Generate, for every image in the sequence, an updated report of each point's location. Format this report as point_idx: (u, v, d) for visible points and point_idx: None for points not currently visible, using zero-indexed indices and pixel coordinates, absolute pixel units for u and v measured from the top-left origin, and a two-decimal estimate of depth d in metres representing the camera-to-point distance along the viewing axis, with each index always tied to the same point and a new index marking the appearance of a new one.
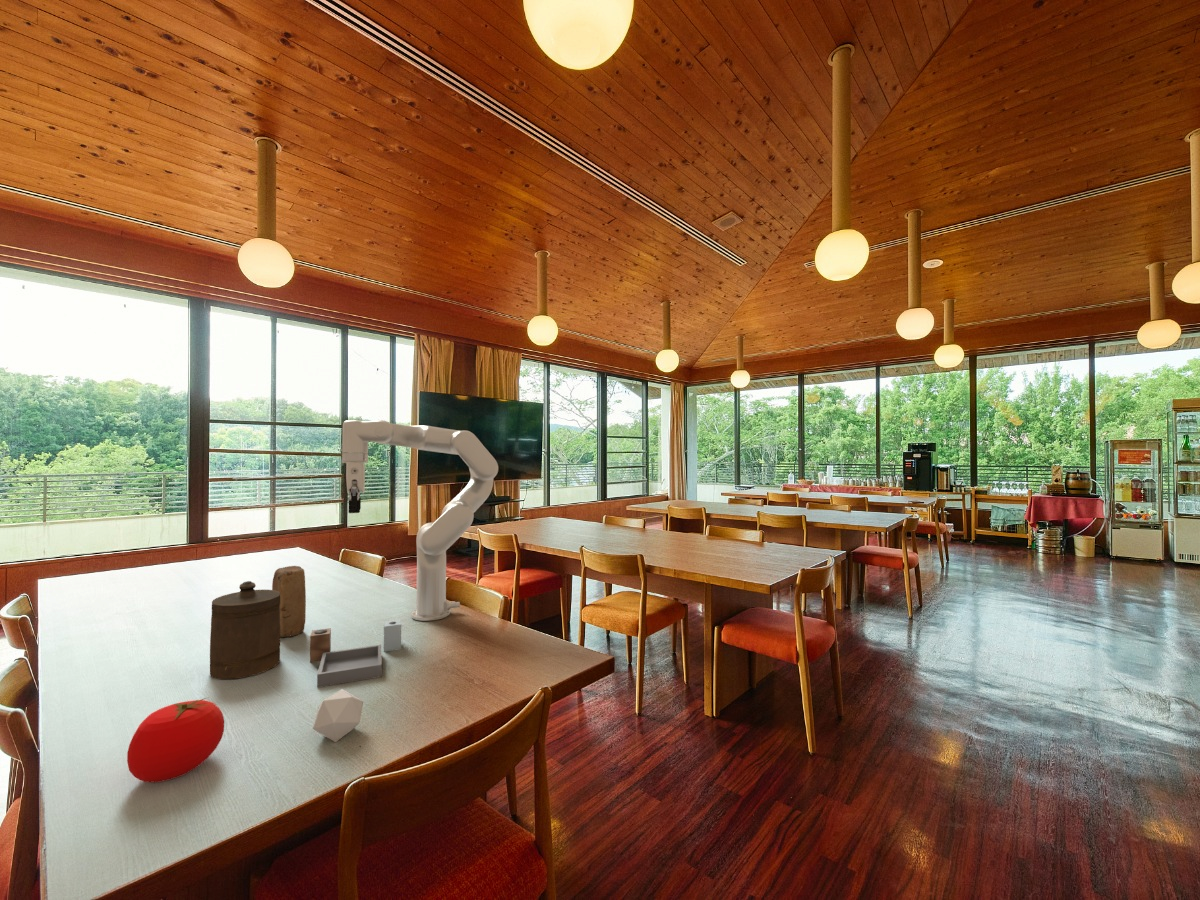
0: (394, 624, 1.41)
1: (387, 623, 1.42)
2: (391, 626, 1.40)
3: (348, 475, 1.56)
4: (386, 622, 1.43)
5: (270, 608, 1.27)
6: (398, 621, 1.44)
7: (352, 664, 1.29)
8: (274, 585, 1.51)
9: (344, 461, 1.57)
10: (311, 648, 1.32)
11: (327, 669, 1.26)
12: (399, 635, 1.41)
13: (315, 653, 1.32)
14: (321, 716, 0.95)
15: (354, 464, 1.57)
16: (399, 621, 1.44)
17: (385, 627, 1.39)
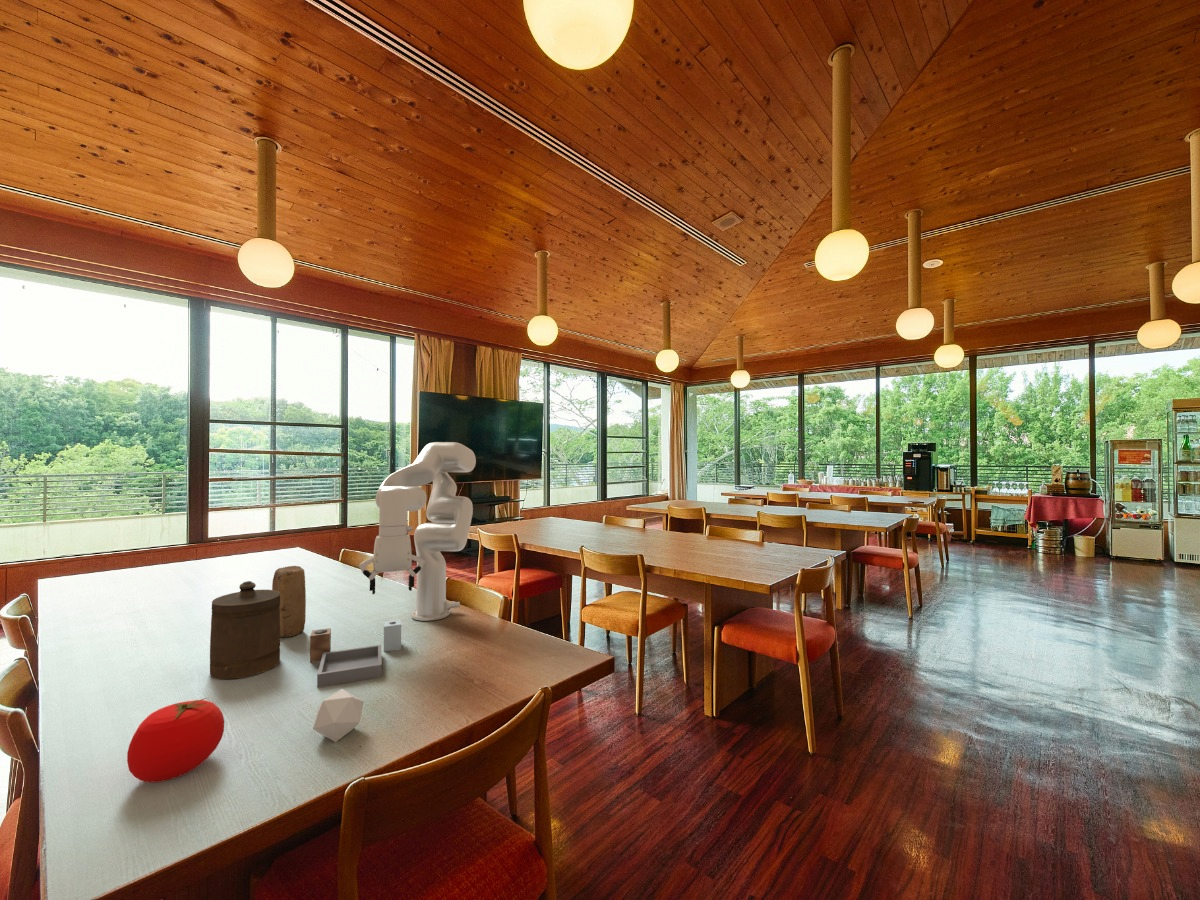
0: (394, 624, 1.41)
1: (387, 623, 1.42)
2: (391, 626, 1.40)
3: (410, 549, 1.42)
4: (386, 622, 1.43)
5: (270, 608, 1.27)
6: (398, 621, 1.44)
7: (352, 664, 1.29)
8: (274, 585, 1.51)
9: (401, 535, 1.40)
10: (311, 648, 1.32)
11: (327, 669, 1.26)
12: (399, 635, 1.41)
13: (315, 653, 1.32)
14: (321, 716, 0.95)
15: (409, 536, 1.44)
16: (399, 621, 1.44)
17: (385, 627, 1.39)
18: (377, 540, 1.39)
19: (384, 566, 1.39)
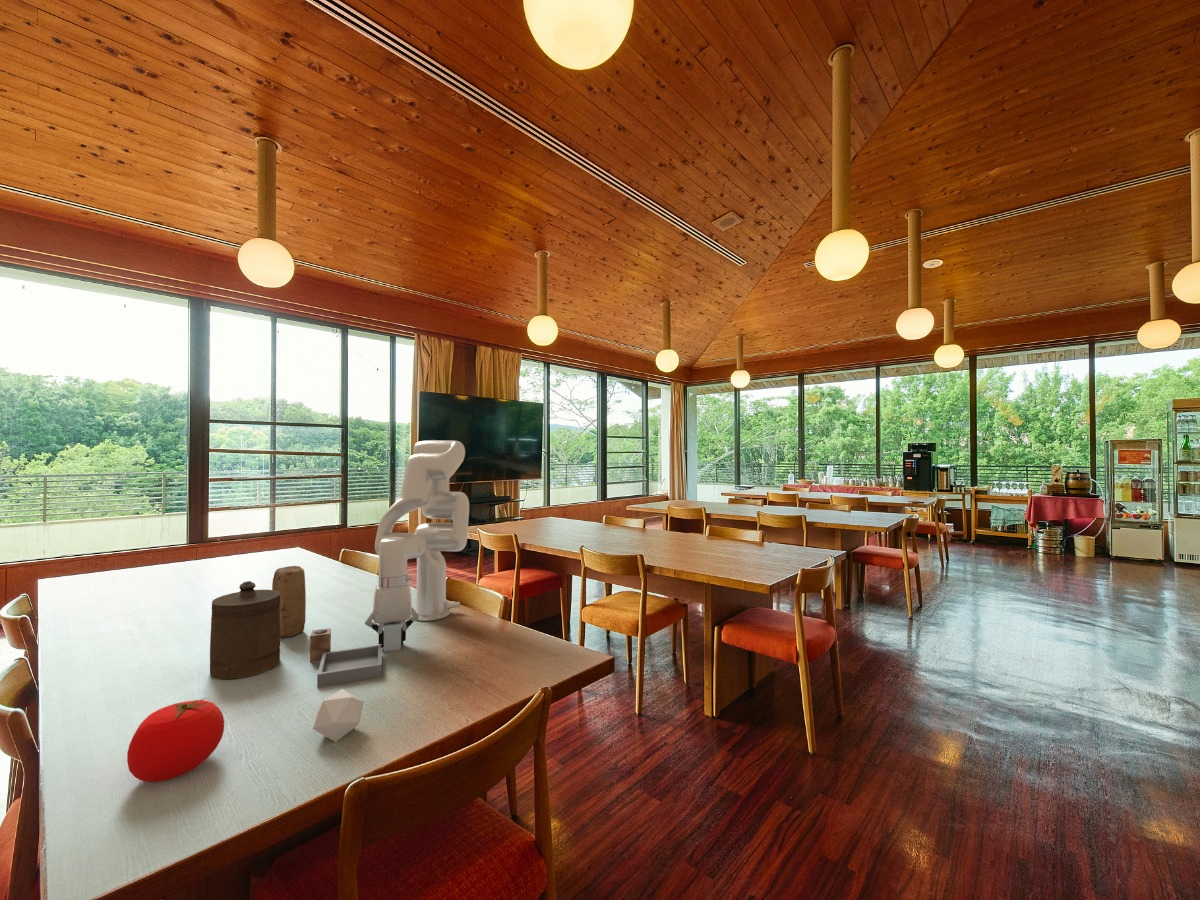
0: (393, 624, 1.41)
1: (387, 623, 1.42)
2: (391, 626, 1.40)
3: (410, 599, 1.42)
4: None
5: (270, 608, 1.27)
6: (398, 621, 1.43)
7: (352, 664, 1.29)
8: (274, 585, 1.51)
9: (401, 586, 1.40)
10: (311, 648, 1.32)
11: (327, 669, 1.26)
12: (399, 635, 1.41)
13: (315, 653, 1.32)
14: (321, 716, 0.95)
15: (409, 586, 1.44)
16: (399, 621, 1.43)
17: (385, 627, 1.39)
18: (377, 591, 1.39)
19: (384, 617, 1.39)
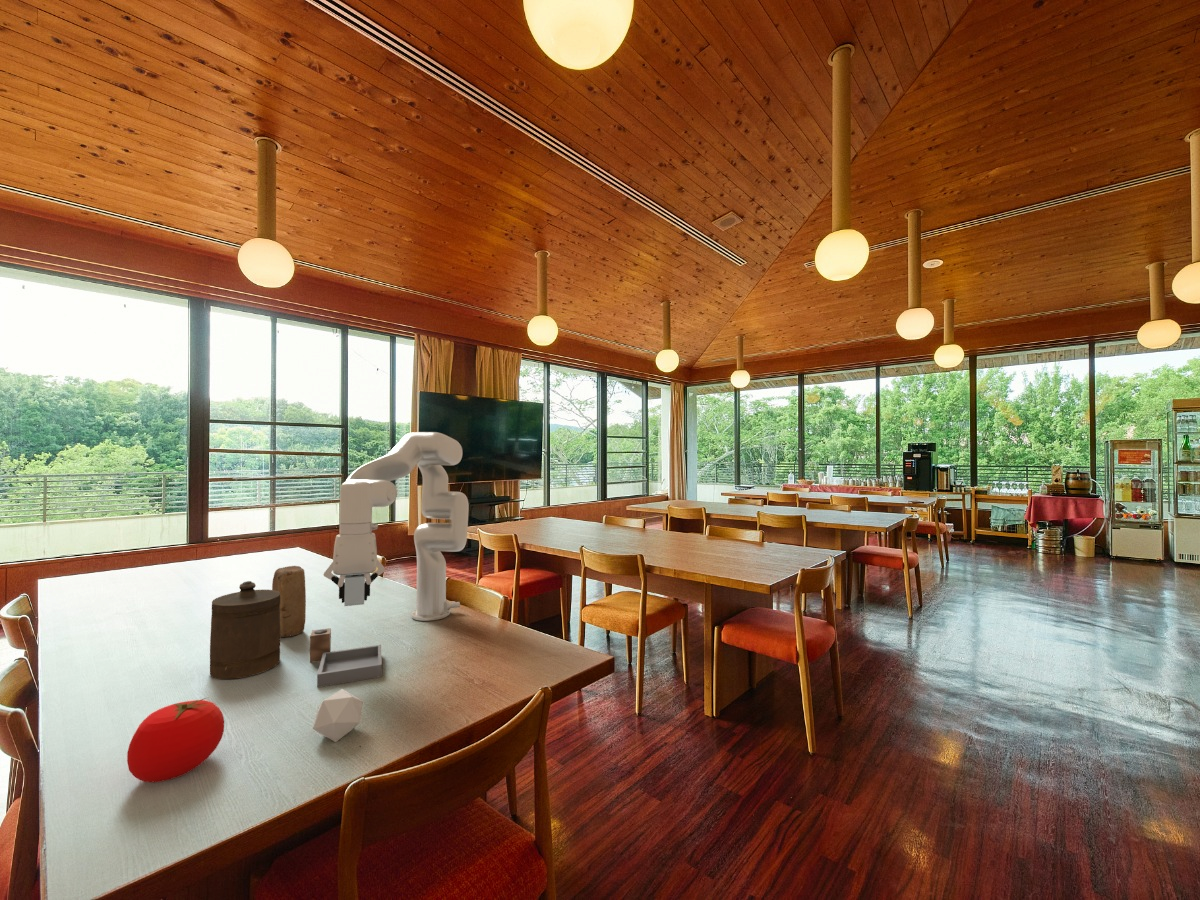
0: (356, 576, 1.27)
1: (349, 575, 1.28)
2: (353, 578, 1.26)
3: (375, 549, 1.29)
4: (348, 575, 1.28)
5: (270, 608, 1.27)
6: (362, 574, 1.29)
7: (352, 664, 1.29)
8: (274, 585, 1.51)
9: (364, 534, 1.26)
10: (311, 648, 1.32)
11: (327, 669, 1.26)
12: (362, 588, 1.27)
13: (315, 653, 1.32)
14: (321, 716, 0.95)
15: (374, 535, 1.30)
16: (363, 574, 1.29)
17: (346, 579, 1.25)
18: (337, 539, 1.25)
19: (345, 568, 1.25)
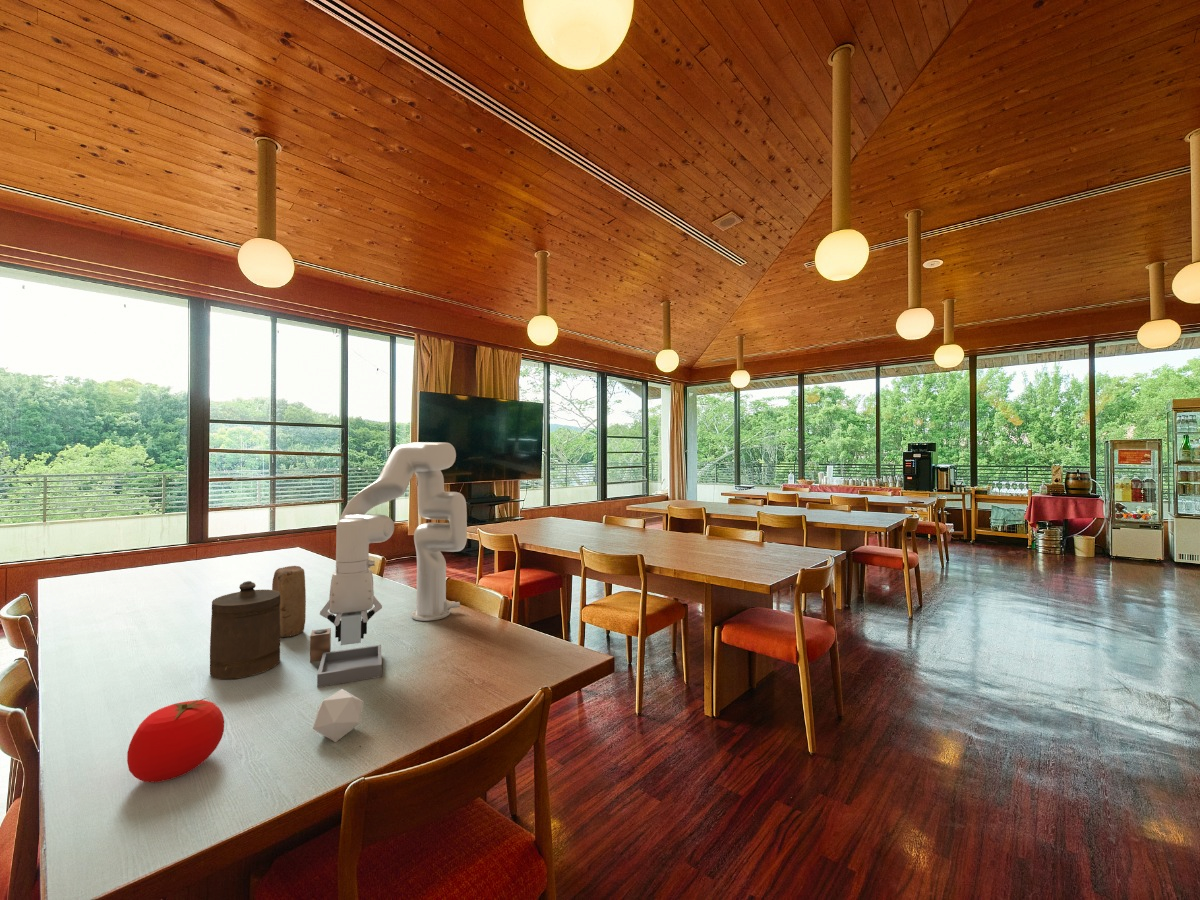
0: (353, 614, 1.26)
1: (345, 613, 1.27)
2: (349, 617, 1.25)
3: (371, 587, 1.27)
4: None
5: (270, 608, 1.27)
6: None
7: (352, 664, 1.29)
8: (274, 585, 1.51)
9: (361, 572, 1.25)
10: (311, 648, 1.32)
11: (327, 669, 1.26)
12: (358, 627, 1.26)
13: (315, 653, 1.32)
14: (321, 716, 0.95)
15: (371, 572, 1.29)
16: None
17: (342, 618, 1.24)
18: (333, 578, 1.24)
19: (341, 607, 1.24)
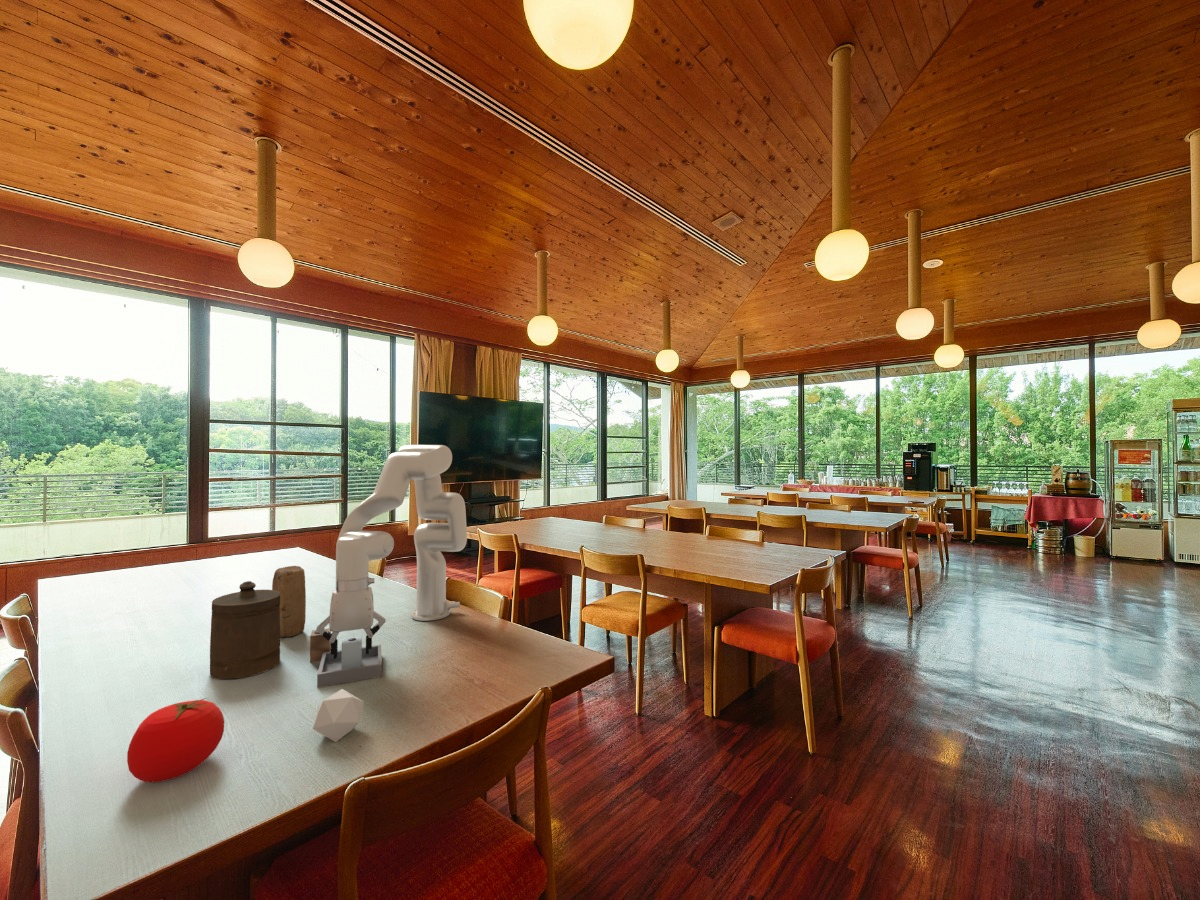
0: (353, 640, 1.26)
1: (346, 640, 1.27)
2: (350, 643, 1.25)
3: (371, 605, 1.27)
4: (345, 638, 1.28)
5: (270, 608, 1.27)
6: (359, 637, 1.29)
7: None
8: (274, 585, 1.51)
9: (361, 590, 1.25)
10: (311, 648, 1.32)
11: (327, 669, 1.26)
12: (359, 653, 1.26)
13: (315, 653, 1.32)
14: (321, 716, 0.95)
15: (371, 590, 1.29)
16: (360, 637, 1.29)
17: (343, 645, 1.24)
18: (333, 596, 1.24)
19: (341, 625, 1.24)
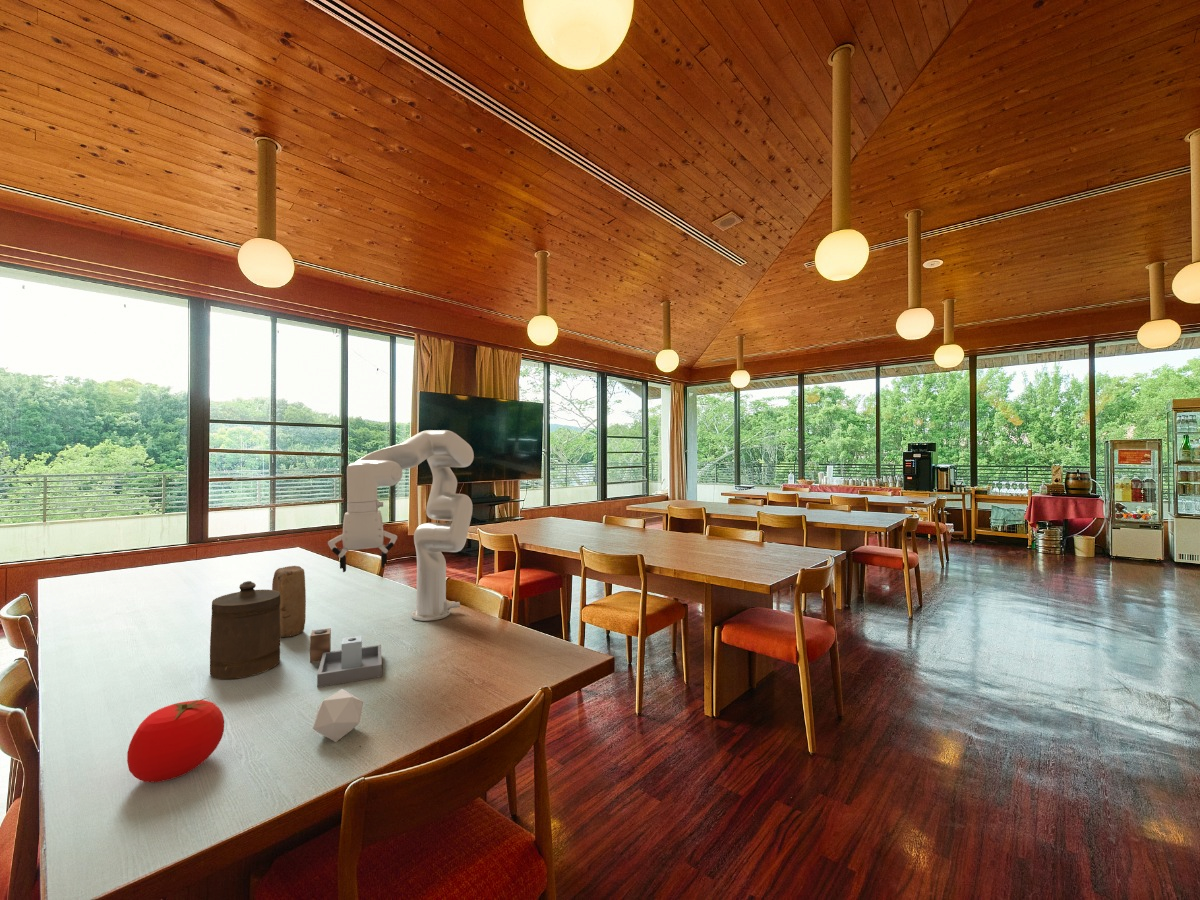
0: (353, 640, 1.26)
1: (346, 640, 1.27)
2: (350, 643, 1.25)
3: (381, 526, 1.37)
4: (345, 638, 1.28)
5: (270, 608, 1.27)
6: (359, 637, 1.29)
7: None
8: (274, 585, 1.51)
9: (371, 511, 1.35)
10: (311, 648, 1.32)
11: (327, 669, 1.26)
12: (359, 653, 1.26)
13: (315, 653, 1.32)
14: (321, 716, 0.95)
15: (380, 512, 1.39)
16: (360, 637, 1.29)
17: (343, 645, 1.24)
18: (346, 517, 1.34)
19: (354, 544, 1.34)
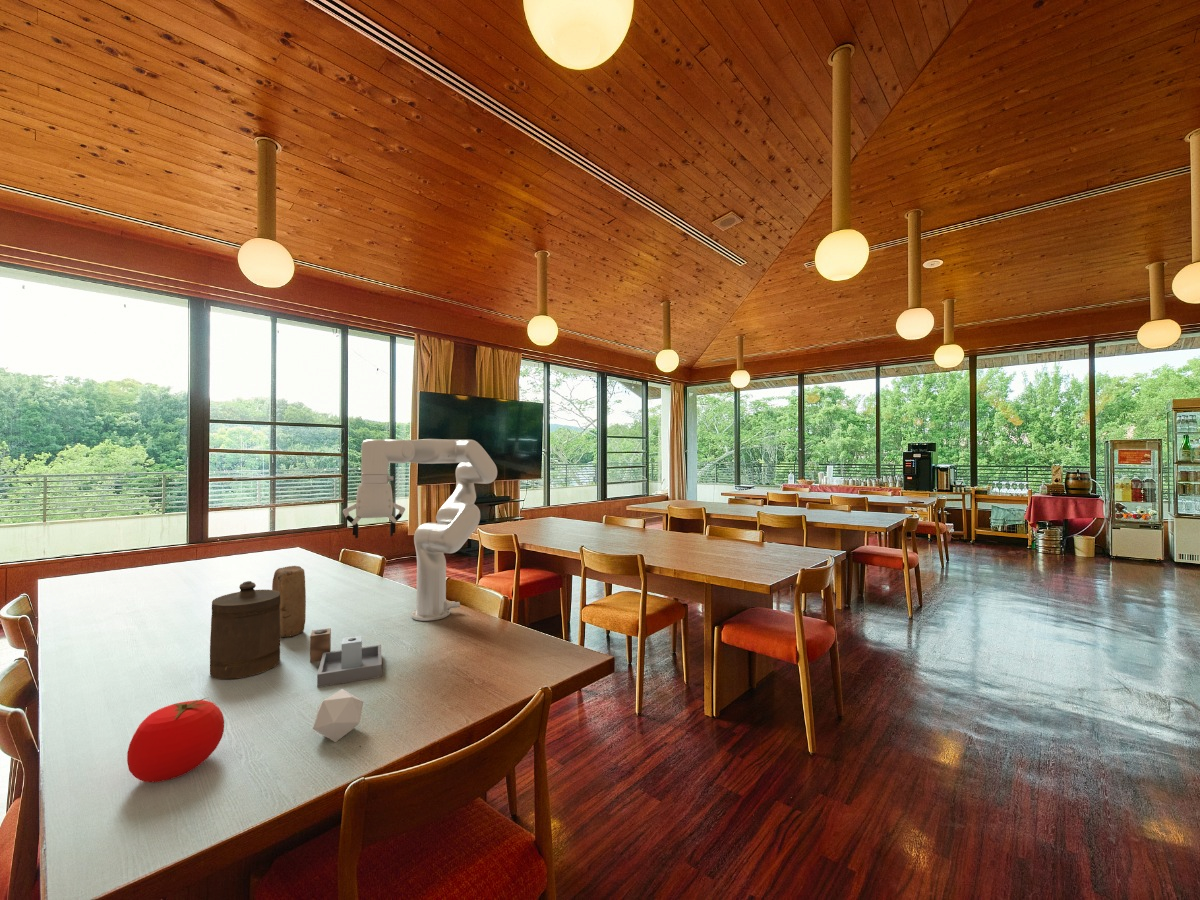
0: (353, 640, 1.26)
1: (346, 640, 1.27)
2: (350, 643, 1.25)
3: (391, 497, 1.51)
4: (345, 638, 1.28)
5: (270, 608, 1.27)
6: (359, 637, 1.29)
7: None
8: (274, 585, 1.51)
9: (382, 483, 1.49)
10: (311, 648, 1.32)
11: (327, 669, 1.26)
12: (359, 653, 1.26)
13: (315, 653, 1.32)
14: (321, 716, 0.95)
15: (390, 485, 1.52)
16: (360, 637, 1.29)
17: (343, 645, 1.24)
18: (359, 487, 1.47)
19: (366, 512, 1.47)
